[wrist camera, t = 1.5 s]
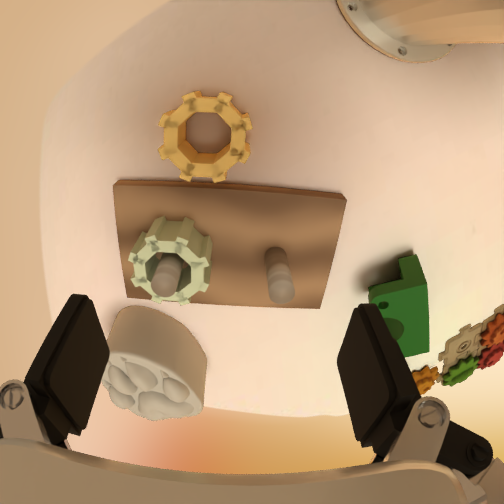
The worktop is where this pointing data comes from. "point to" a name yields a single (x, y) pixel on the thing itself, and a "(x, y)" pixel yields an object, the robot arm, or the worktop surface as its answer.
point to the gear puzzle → (466, 353)
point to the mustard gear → (186, 154)
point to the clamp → (405, 307)
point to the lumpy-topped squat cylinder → (154, 365)
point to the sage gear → (173, 241)
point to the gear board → (237, 239)
